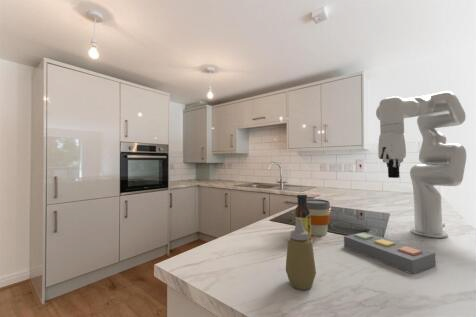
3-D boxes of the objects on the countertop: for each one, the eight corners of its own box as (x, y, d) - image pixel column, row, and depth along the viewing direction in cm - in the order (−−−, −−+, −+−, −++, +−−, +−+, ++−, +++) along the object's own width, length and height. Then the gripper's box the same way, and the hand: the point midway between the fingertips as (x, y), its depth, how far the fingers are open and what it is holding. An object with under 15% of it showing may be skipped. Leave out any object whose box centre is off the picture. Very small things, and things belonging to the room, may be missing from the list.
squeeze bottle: (282, 277, 64) (280, 215, 64) (309, 276, 65) (307, 214, 65) (291, 294, 56) (289, 223, 56) (321, 291, 57) (319, 221, 57)
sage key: (362, 238, 88) (362, 232, 88) (373, 241, 84) (372, 236, 84) (354, 240, 86) (354, 234, 86) (365, 243, 82) (365, 237, 82)
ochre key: (382, 245, 81) (382, 238, 81) (395, 249, 77) (394, 242, 77) (374, 247, 79) (374, 240, 79) (387, 251, 75) (386, 244, 75)
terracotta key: (406, 252, 74) (406, 246, 74) (421, 257, 70) (421, 250, 70) (398, 255, 72) (398, 248, 72) (413, 260, 68) (413, 253, 68)
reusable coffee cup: (333, 231, 106) (332, 200, 106) (328, 239, 95) (327, 204, 96) (306, 227, 113) (306, 198, 113) (299, 234, 102) (298, 202, 103)
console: (365, 241, 91) (364, 232, 91) (435, 265, 69) (435, 253, 69) (344, 246, 86) (343, 236, 87) (413, 274, 64) (412, 260, 65)
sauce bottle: (312, 244, 90) (310, 195, 90) (296, 243, 91) (295, 195, 91) (310, 239, 96) (308, 193, 96) (295, 238, 97) (294, 193, 98)
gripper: (393, 132, 91) (395, 176, 91) (369, 130, 85) (371, 178, 85) (414, 129, 84) (416, 177, 84) (389, 127, 78) (391, 179, 78)
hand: (393, 177), depth 84 cm, fingers closed
